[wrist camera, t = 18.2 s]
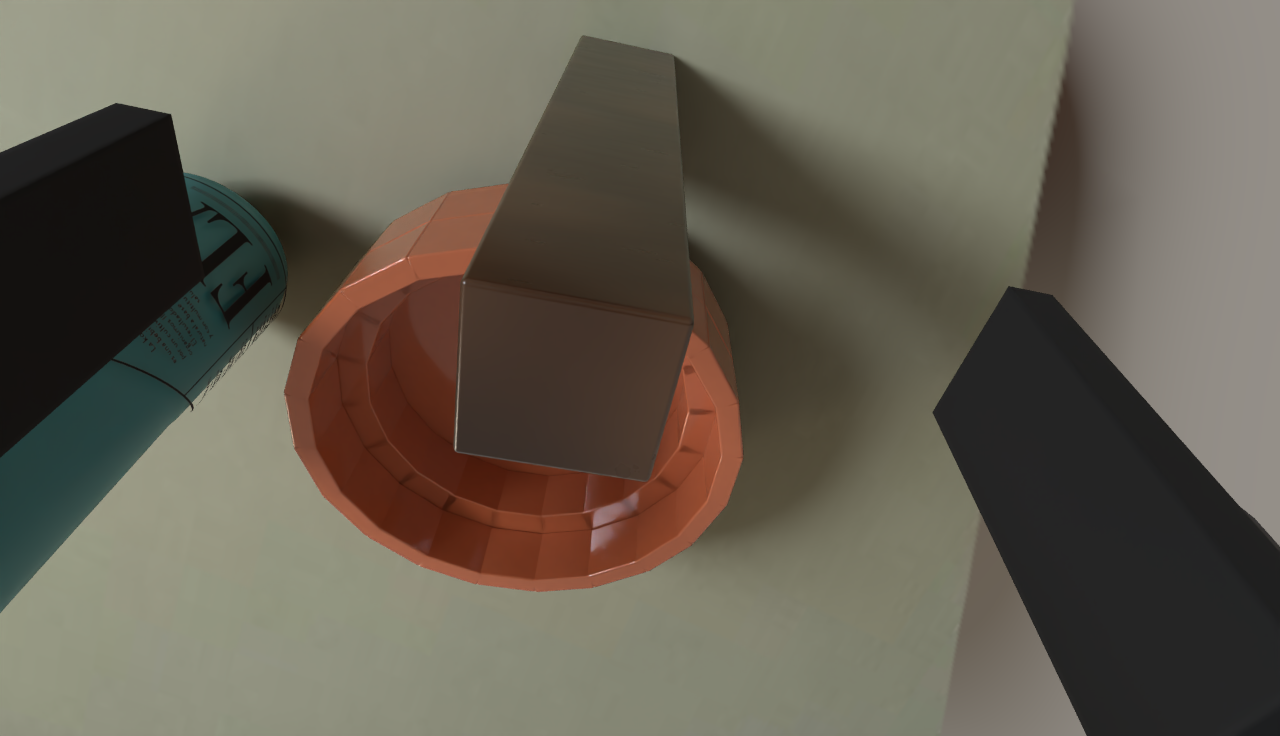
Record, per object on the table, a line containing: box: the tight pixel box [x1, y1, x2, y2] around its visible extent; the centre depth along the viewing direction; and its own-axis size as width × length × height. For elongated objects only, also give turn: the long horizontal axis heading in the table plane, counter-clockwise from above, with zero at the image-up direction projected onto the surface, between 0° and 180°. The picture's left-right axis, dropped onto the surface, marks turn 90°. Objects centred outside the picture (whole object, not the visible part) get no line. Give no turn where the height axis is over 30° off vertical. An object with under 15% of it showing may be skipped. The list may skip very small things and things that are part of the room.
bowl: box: [284, 184, 744, 592], centre depth 26 cm, size 16×16×6 cm
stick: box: [453, 36, 694, 482], centre depth 16 cm, size 3×3×16 cm
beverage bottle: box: [0, 173, 288, 613], centre depth 18 cm, size 6×7×20 cm
